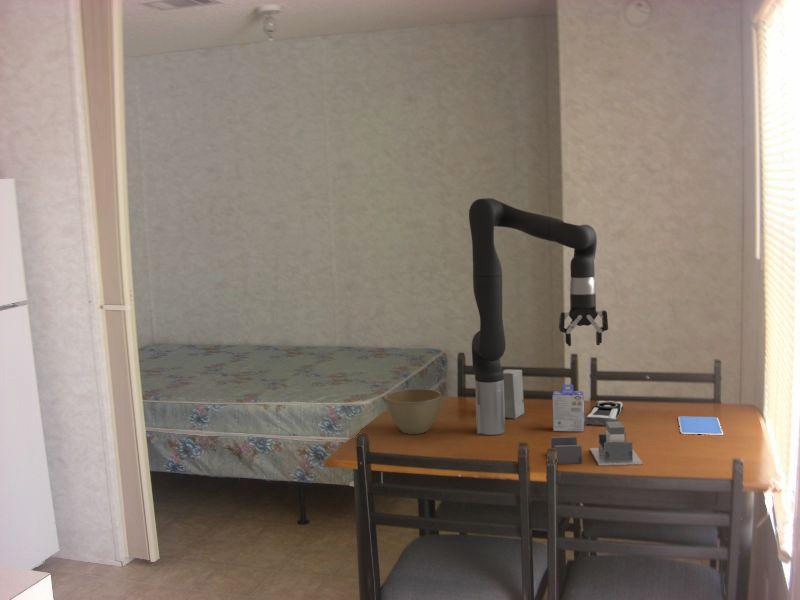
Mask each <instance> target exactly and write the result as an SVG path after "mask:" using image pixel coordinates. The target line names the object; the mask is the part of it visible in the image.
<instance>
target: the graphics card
mask: <svg viewBox="0 0 800 600" xmlns="http://www.w3.org/2000/svg"><path fill="white" fill-rule="evenodd" d="M622 409H624V404H623V403H622V402H621V401H613V400H606V401H605V400H599V401H597V402H596V404H595V406H594V407H593V409H592V410H591V411H590V413H589V414H588V415H587V416H584V425H585V426H587V424H589V426H597V425H599V426H602V427H606V422H617V420H618V419H619V416H620V415H619V414H621V413H622V412H623V410H622ZM616 419H617V420H616ZM586 423H587V424H586ZM591 424H592V425H591Z"/></svg>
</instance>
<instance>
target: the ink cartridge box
mask: <svg viewBox="0 0 800 600" xmlns="http://www.w3.org/2000/svg"><path fill="white" fill-rule="evenodd" d="M567 387H568V388H567ZM551 398H552V402H551V403H552V432H584V430H585V429H584V428H585V426H584V418H585V401H584V399H585V398H584V392H583V391H582V390H578V391H577V390H576V391H575V390H574V384H561V390H559V391H552V397H551Z"/></svg>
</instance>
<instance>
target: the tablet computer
mask: <svg viewBox="0 0 800 600" xmlns="http://www.w3.org/2000/svg"><path fill="white" fill-rule="evenodd" d="M677 419H678V427H679V426H680V427H679V432H681V433H682V434H706V435H708V434H709V435H723V434H724V432H723V428H722V425H721V423H720V420H719V418H718V417H716V416H690V415H689V416H687V415H683V416H678V417H677ZM720 425H721V426H720ZM721 428H722V429H721ZM682 434H681V435H682Z"/></svg>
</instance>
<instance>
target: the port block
mask: <svg viewBox="0 0 800 600" xmlns="http://www.w3.org/2000/svg"><path fill="white" fill-rule="evenodd" d="M626 434H627V433H625V442H606V432H605V433H604V432H603V433H598V447H590V448H589V451H590V453H591V454H592V456H593V458H594V460H595V461H596V463H597V465H598V466H625V465H627V466H633V465H635V466H636V465H643V461H642V460H641V459H640V457H639V455H638V454H637V453H636V451H634V449H633V442H632V441H626V439H627V437H626V436H627V435H626Z"/></svg>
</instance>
